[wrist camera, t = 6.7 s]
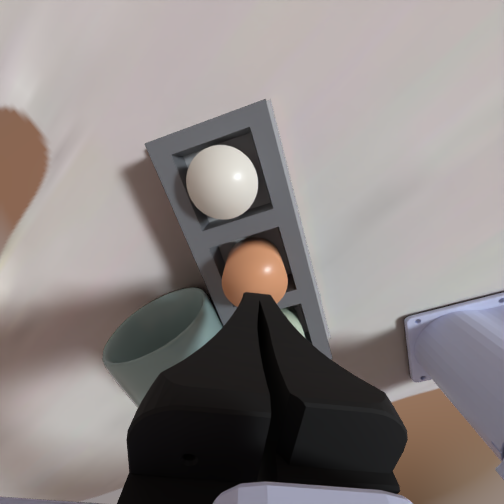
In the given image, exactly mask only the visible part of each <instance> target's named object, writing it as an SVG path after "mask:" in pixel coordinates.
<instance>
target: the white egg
mask: <svg viewBox="0 0 504 504" xmlns="http://www.w3.org/2000/svg"><path fill="white" fill-rule="evenodd" d="M186 185H187V190H188V193H189V196H190V198H191V200H192V202H193V203H194V205H195V206H196V207H197V208H198V209H199V210H200V211H201V212H203V213H204V214H206V215H207V216H210V217H212V218H216V219H232V218H235V217H238V216H240V215H241V214H243V213H244V212H246V211H247V210H248V209H249V207H250V206H251V205H252V203H253V202H254V200H255V197H256V194H257V190H258V177H257V173H256V170H255V168H254V166H253V164H252V162H251V161H250V159H249V158H248V157H247V156H246V155H245V154H244V153H243V152H241V151H240V150H238V149H236V148H234V147H231V146H226V145H214V146H211V147H208V148H205V149H204V150H202V151H201V152H199V153H198V154H197V155H196V156H195V157H194V158H193V160H192V161H191V163H190V165H189V168H188V171H187V176H186Z"/></svg>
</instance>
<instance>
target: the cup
mask: <svg viewBox="0 0 504 504" xmlns="http://www.w3.org/2000/svg"><path fill="white" fill-rule="evenodd" d="M223 326H224V325H223V323H222V321H221V319H220V317H219V315H218V313H217V311H216V309H215V307H214V306H213V304H212V302H211V300H210V298H209V297H208V295H207V294H206V293H205V292H204V291H203V290H202V289H199V288H185V289H181V290H177V291H174V292H171V293H169V294H166V295H164V296H162V297H160V298H158V299H156V300H154V301H152V302H150V303H148V304H147V305H145V306H143V307H142V308H140V309H139V310H138V311H136V312H135V313H134V314H132V315H131V316H130V317H129V318H127V319H126V320H125V321H124V322H123V323H122V324H121V325H120V326H119V327H118V328H117V330H116V331H115V332H114V333H113V335H112V336H111V337H110V339H109V340H108V342H107V344H106V345H105V348H104V351H103V357H102V360H103V363H104V365H105V367H106V369H107V370H108V372H109V373H110V375H111V376H112V377H113V379H114V380H115V381H116V382H117V384H118V385H119V386H120V387H121V388H122V390H123V391H124V392H125V393H126V395H127V396H128V397H129V398H130V399H131V400H132V402H133V403H134V404H135V405H136V406H137V407H139V405H140V403H141V401H142V400H143V398H144V396H145V395H146V393H147V391H148V390H149V388H150V387H151V385H152V384H153V382H154V381H155V379H156V378H157V377H158V375H159V374H160V373H161V372H162V371H164V370H166V369H168V368H170V367H172V366H174V365H175V364H177V363H179V362H181V361H183V360H184V359H186V358H187V357H188V356H190V355H191V354H193V353H194V352H195V351H197V350H198V349H200V348H201V347H202V346H203V345H205V344H206V343H207V342H208V341H209V340H210V339H211V338H213V337H214V336H215V335H216V334H217V333H218V332H219V331H220V330H221V328H222V327H223Z"/></svg>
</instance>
